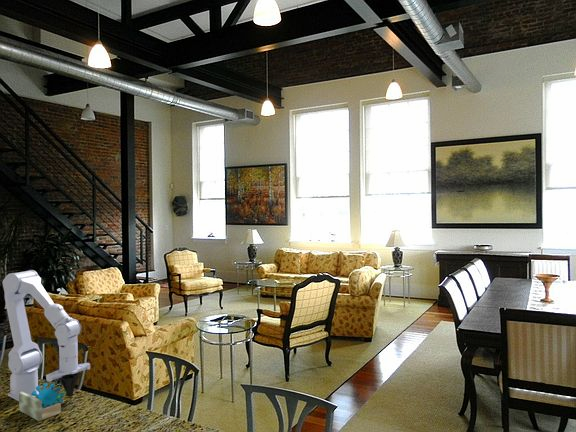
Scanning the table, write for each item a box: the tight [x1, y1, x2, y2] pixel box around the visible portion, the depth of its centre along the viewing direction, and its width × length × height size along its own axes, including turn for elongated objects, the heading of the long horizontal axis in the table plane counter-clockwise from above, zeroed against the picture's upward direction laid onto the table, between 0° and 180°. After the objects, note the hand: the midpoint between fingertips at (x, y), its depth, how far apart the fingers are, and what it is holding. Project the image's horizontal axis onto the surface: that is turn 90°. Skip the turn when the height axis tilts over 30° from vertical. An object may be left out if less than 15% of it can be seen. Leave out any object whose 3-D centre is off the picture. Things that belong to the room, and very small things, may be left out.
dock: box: [18, 392, 62, 422], centre depth 149 cm, size 13×7×6 cm, turn 54°
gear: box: [31, 382, 67, 409], centre depth 153 cm, size 11×6×10 cm
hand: (69, 395), depth 157 cm, fingers closed
